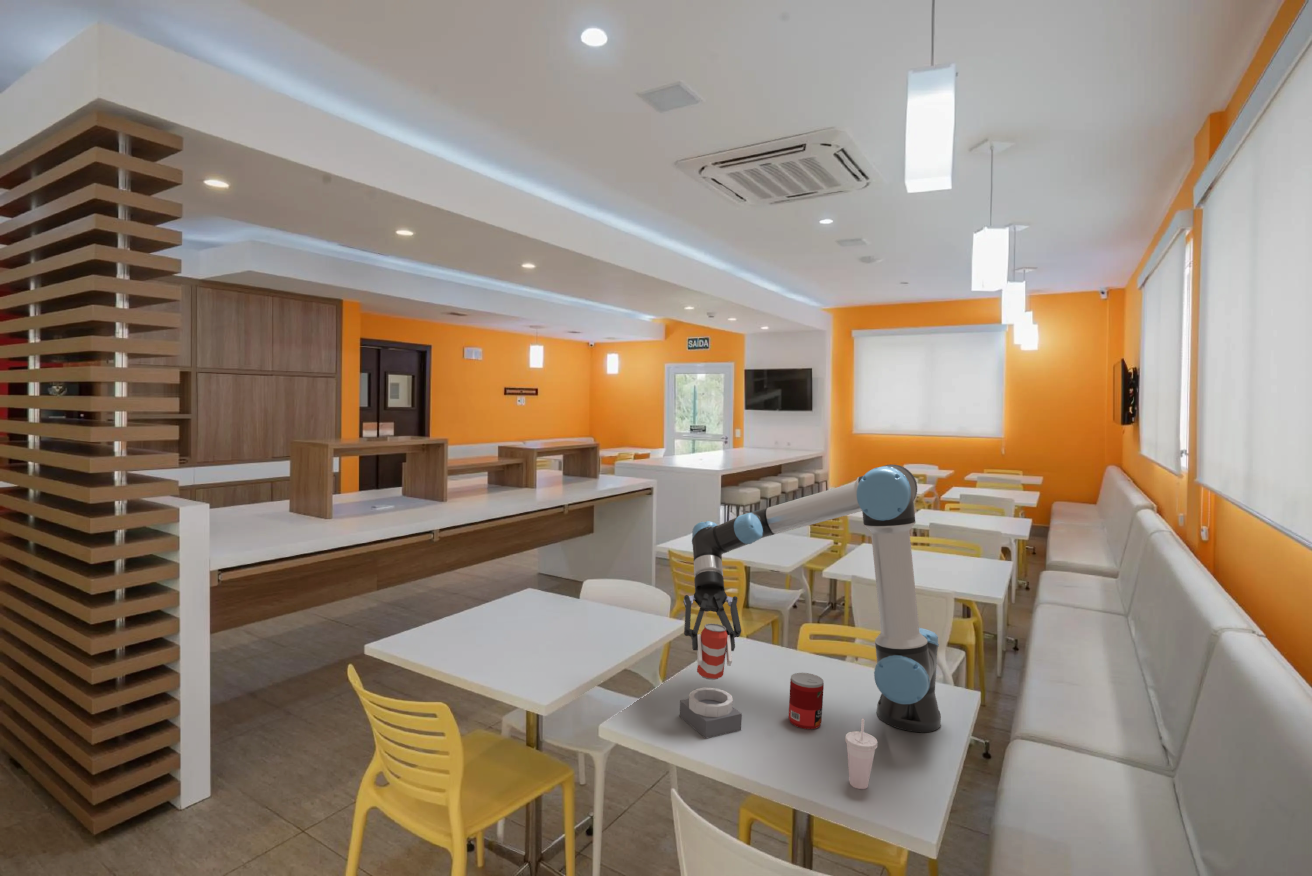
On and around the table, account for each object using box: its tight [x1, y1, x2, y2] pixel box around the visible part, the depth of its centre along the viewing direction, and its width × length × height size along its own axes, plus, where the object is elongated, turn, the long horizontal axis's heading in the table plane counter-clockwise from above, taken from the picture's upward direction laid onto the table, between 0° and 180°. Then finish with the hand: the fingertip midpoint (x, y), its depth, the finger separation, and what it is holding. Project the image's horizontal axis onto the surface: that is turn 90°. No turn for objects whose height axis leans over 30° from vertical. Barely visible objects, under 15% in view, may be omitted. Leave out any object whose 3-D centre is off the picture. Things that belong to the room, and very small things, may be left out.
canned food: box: [788, 672, 825, 730], centre depth 166 cm, size 8×8×11 cm
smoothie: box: [844, 718, 878, 790], centre depth 140 cm, size 6×6×14 cm
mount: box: [678, 687, 743, 739], centre depth 164 cm, size 12×10×6 cm
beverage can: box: [696, 623, 728, 681], centre depth 163 cm, size 6×6×12 cm
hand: (714, 663), depth 160 cm, fingers closed on beverage can, 6 cm apart
